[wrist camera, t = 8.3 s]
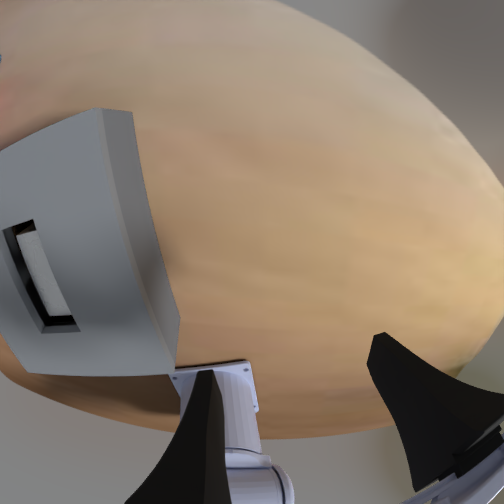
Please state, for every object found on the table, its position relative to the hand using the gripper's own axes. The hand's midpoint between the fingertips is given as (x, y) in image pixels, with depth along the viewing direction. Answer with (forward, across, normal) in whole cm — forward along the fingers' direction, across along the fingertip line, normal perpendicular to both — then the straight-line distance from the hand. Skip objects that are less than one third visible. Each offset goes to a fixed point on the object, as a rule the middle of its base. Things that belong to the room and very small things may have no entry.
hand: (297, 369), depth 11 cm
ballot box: (+10, +14, -4) cm, 18 cm away
